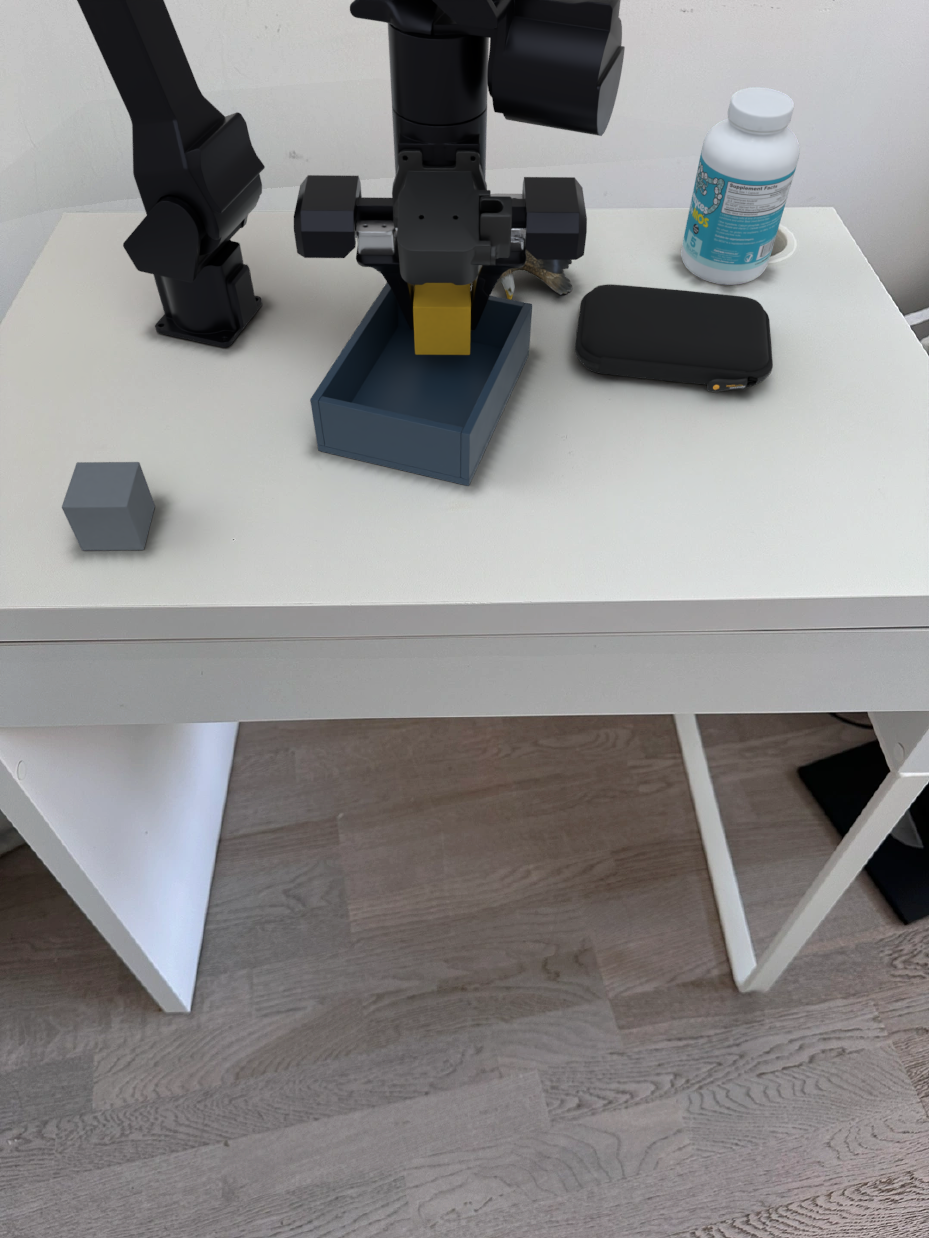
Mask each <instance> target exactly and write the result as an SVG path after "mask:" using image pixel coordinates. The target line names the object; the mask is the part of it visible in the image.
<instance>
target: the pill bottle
mask: <svg viewBox="0 0 929 1238" xmlns="http://www.w3.org/2000/svg"><path fill="white" fill-rule="evenodd" d="M794 107H795V103H794V100H793V99H792V97H791V96H789V95H788V94H787V93H785V92H783V91H781V90H778V89H773V88H771V87H763V86H751V87H745V88H741V89H738V90H737V91H736V92H733V94H732V96H731V97H730V100H729V105H728V109H727V118H724V119H722V120H720V121H718V122H717V123H715V124H714V125H713V126H712V127H710V129H709V130H708V131H707V132H706V134H705V136H704V139H703V141H702V146H701V150H700V155H699V159H698V165H697V170H696V175H695V180H694V186H693V189H692V195H691V199H690V204H689V210H688V213H687V220H686V224H685V229H684V234H683V238H682V244H681V249H680V250H681V251H680V255H681V260H682V263H683V265H684V266H685V268H686V269H687V270H688V271H689V272H690V273H691V274H693V275H694V276H696V278H697V277H698V278H699V279H701V280H704V281H706V282H708V283H709V282H710V283H713V284H717V285H726V286H727V285H728V286H730V285H732V286H733V285H740V284H745V283H749V282H751V281H754V280H756V279H757V278H759V277H760V276H761V275H762V274H763V273H764V272H765V270H766V269H767V267H768V265H769V262H770V258H771V255H772V252H773V248H774V245H775V241H776V238H777V234H778V231H779V228H780V224H781V221H782V218H783V214H784V211H785V207H786V204H787V200H788V196H789V194H790V190H791V187H792V186H791V185H792V183H793V181H794V177H795V173H796V170H797V166H798V162H799V159H800V155H801V147H800V145H801V144H800V142H799V139H798V137H797V135H796V133H795V132H794V131H793V130H792V128H790V127H789V125H790V123H791V121H792V117H793V112H794V109H795V108H794Z"/></svg>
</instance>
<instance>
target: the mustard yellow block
mask: <svg viewBox="0 0 929 1238" xmlns="http://www.w3.org/2000/svg"><path fill="white" fill-rule="evenodd" d="M471 289H472V283H470V284H467V285H455V284H453V283H425V284H423V285H414V301H413V317H414V341H415V354H416V355H470V331H471Z"/></svg>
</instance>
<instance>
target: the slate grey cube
mask: <svg viewBox="0 0 929 1238" xmlns="http://www.w3.org/2000/svg"><path fill="white" fill-rule="evenodd" d="M155 508H156V504H155V502H154V498H153V496H152V493H151V490H150V487H149V485H148V482H147V479H146V476H145V473H144V471H143V468H142V465H141V463H140V461H88V462H87V461H85V462H83V461H80V462H79V461H78V462H76V463H75V466H74V469H73V472H72V474H71V478H70V480H69V483H68V487H67V490H66V492H65V496H64V498H63V501H62V505H61V509H62V512H63V513H64V515H65V518H66V520H67V522H68V524H69V526H70V528H71V530H72V533H73V535H74V537H75V539H76V541H77V543H78V545H79V547H80V549H81V551H144V550H145V548H146V543H147V539H148V535H149V532H150V527H151V523H152V521H153V520H152V519H153V516H154V512H155Z"/></svg>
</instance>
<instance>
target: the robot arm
mask: <svg viewBox="0 0 929 1238" xmlns="http://www.w3.org/2000/svg"><path fill="white" fill-rule="evenodd" d="M76 1H77V4H78V6H79V8H80V10H81V12H82V15H83V17H84V19H85V21H86V23H87V26H88V28H89V30H90V32H91V34H92V37H93V39H94V41H95V43H96V46H97V47H98V49H99V50H98V51H99V53H100V54H101V56H102V58H103V61H104V63H105V66H106V67H107V69H108V72H109V74H110V77H111V78H112V81H113V83H114V85H115V87H116V89H117V92H118V94H119V96H120V98H121V100H122V102H123V104H124V106H125V109H126V111H127V114H128V116H129V118H130V119H129V120H130V122H131V126H132V127H131V135H132V137H131V139H132V142H131V143H132V174H133V178H134V181H135V184H136V188H137V190H138V193H139V196H140V199H141V203H142V205H143V209H144V211H145V214H146V215H145V217H144V218H143V219H142V220H141V221H140V223H139V224H138V225H137V226H136V227H135V229H134V230H133V231H132V232H131V233H130V235H129V236H127V238H126V240H125V241H123V244H122V247H123V249H124V251H125V252H126V254H127V255H128V257H129V259H130V261H131V262H132V264H133V265H134V267H135V269H136V270H137V271H139V272H141V273H145V274H150V275H153V278H154V281H155V286H156V288H157V293H158V296H159V299H160V303H161V306H162V311H163V315H162V316H161V318H159V320H158V321H157V322H156V323H155V324H154V329H155V331H156V333H158V334H161V335H165V336H170V337H174V338H179V339H184V340H188V341H194V342H197V343H201V344H205V345H206V344H207V345H211V346H216V347H220V348H228V347H231V345H232V344H233V343H234V342H235V340H236V339H237V338H238V337H239V335H241V333H242V332H243V330H244V329H245V328H246V326H247V325H248V323H249V322H250V321H251V320H252V319H253V317H254V316H255V315H256V313H257V312H258V311H259V309H260V308H261V307H262V306H263V300H262V297H261V296H259V295H255V290H254V284H253V280H252V274H251V270H250V269H251V268H250V266H249V265H248V264H246V263H244V257H243V253H242V248H241V243H240V242H238V241H234V240H231V239H232V238H233V237H234V236H235V235H236V234H237V233H238V232H239V230H240V229H243V228H244V227H245V226H246V225H247V222H248V216H249V214H250V213H251V212H252V211H253V210H254V209H255V208H256V207H257V204H258V203H259V200H260V198H261V195H262V194H263V183H262V178H261V173H262V172H263V170H265V168H266V166H265V165H264V163H263V162H262V160H261V159H260V157H259V156H258V154H257V153H256V150H255V148H254V147H253V144H252V141H251V137H250V133H249V127H248V125H247V121H246V119H245V118H244V115H242V113H240V112H238V111H237V112H234V113H231V114H229V115H224V114H223V113H222V112H221V111H220V110H219V109H218V108H217V107H216V106H215V105H214V104H213V103H211V102H210V101H209V100H208V99H207V98H206V97H205V96H204V95H203V93H202V91H201V90H200V87H199V85H198V83H197V79H196V78H195V76H194V72H193V70H192V68H191V65H190V62H189V61H188V58H187V55H186V53H185V50H184V48H183V45H182V42H181V40H180V38H179V35H178V32H177V30H176V27H175V25H174V22H173V20H172V18H171V15H170V13H169V11H168V7H167V6H166V3H165V0H76ZM621 1H622V0H353V1H351V3H350V4H349V12H350V14H351V16H352V17H353V18H356V19H361V20H368V21H374V22H375V21H376V22H381V23H386V24H387V38H388V39H387V40H388V56H389V57H388V59H389V73H390V74H389V77H390V97H391V98H390V99H391V114H392V115H391V116H392V117H391V118H392V135H393V152H394V153H393V154H394V155H393V156H394V173H395V175H394V179H393V181H392V190H391V197H363V195H362V184H361V180H360V176H359V175H333V174H331V175H330V174H329V175H325V174H323V175H321V174H320V175H319V174H317V175H315V174H310V175H309V174H308V175H307V176H306V177H305V178H304V180H303V181H302V182H301V183H300V185H299V189H298V195H297V199H296V204H295V208H294V213H293V235H294V240H295V248H296V253H297V255H299V256H301V257H302V258H303V259H345V258H346V257H347V256H348V255H349V254H350V253H351V252H352V251H353V250H355V248H356V255H355V260H356V263H357V264H358V265H359V267H362V268H372V269H374V270H375V271H377V272H378V273H380V274H381V276H382V277H383V278H384V280H385V282H386V283H388V284H389V286H390V288H391V289H392V291H393V293H394V296H395V298H396V300H397V302H398V304H399V306H400V309H401V311H402V313H403V315H404V317H405V319H406V322H407V324H408V326H409V328H410V330H414V317H413V301H414V285H423V284H425V283H453V284H455V285H467V284H470V283H471V331H475V330H476V327H477V325H478V323H479V320H480V318H481V315H482V313H483V311H484V308H485V306H486V304H487V301H488V299H489V297H490V296H491V294H492V292H493V290H494V288H495V286H496V285H497V283H498V281H500V279H499V278H500V277H501V275H502V274H503V273H504V272H506V271H507V270H509V269H511V268H521V267H523V266H524V265H525V263H526V250H527V251H528V252H529V253H530V254H531V255H532V256H534V257H535V258H536V259H537V260H572V261H576V260H578V259H580V258H582V257H584V256H585V250H586V241H587V234H588V233H587V232H588V231H587V230H588V216H587V210H586V203H585V196H584V190H583V189H584V188H583V185H581V184H580V182H579V181H578V180H577V179H576V177H572V176H571V177H570V176H569V177H567V176H523V181H522V190H521V192H522V193H491V190H490V189H488V183H487V182H486V181H487V180H486V176H487V175H486V174H487V173H486V172H487V171H486V169H487V133H488V132H487V131H488V129H487V128H488V94H489V96H490V97H491V99H492V109H493V112H494V113H495V114H496V113H497V114H502V116H503V117H504V119H505V120H507V121H511V122H518V123H522V124H528V125H529V124H530V125H534V126H539V127H540V126H541V127H547V128H551V129H552V128H553V129H558V130H564V131H570V132H575V133H581V134H587V135H593V136H599V137H602V136H603V135H604V134H605V133H606V131H607V128H608V126H609V123H610V120H611V117H612V114H613V111H614V107H615V104H616V101H617V96H618V92H619V88H620V82H621V76H622V71H623V66H624V65H623V64H624V59H625V58H624V57H625V48H626V47H625V46H623V45H622V43H623V25H622V20H621V18H620V17H619V16H620V9H621ZM356 244H357V246H356Z"/></svg>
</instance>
